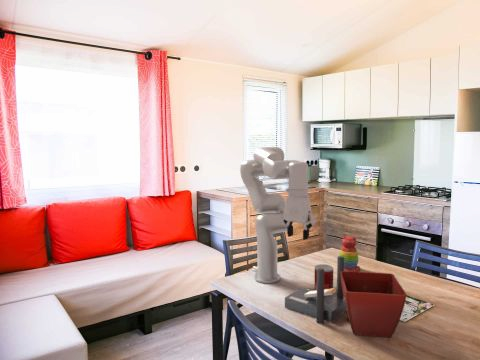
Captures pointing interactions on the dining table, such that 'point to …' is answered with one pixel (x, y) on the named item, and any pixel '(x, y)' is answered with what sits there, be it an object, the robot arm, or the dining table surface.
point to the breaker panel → (315, 304)
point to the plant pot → (372, 302)
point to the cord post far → (339, 276)
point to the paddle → (326, 292)
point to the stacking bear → (349, 254)
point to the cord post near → (320, 296)
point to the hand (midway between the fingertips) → (297, 237)
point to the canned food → (325, 276)
